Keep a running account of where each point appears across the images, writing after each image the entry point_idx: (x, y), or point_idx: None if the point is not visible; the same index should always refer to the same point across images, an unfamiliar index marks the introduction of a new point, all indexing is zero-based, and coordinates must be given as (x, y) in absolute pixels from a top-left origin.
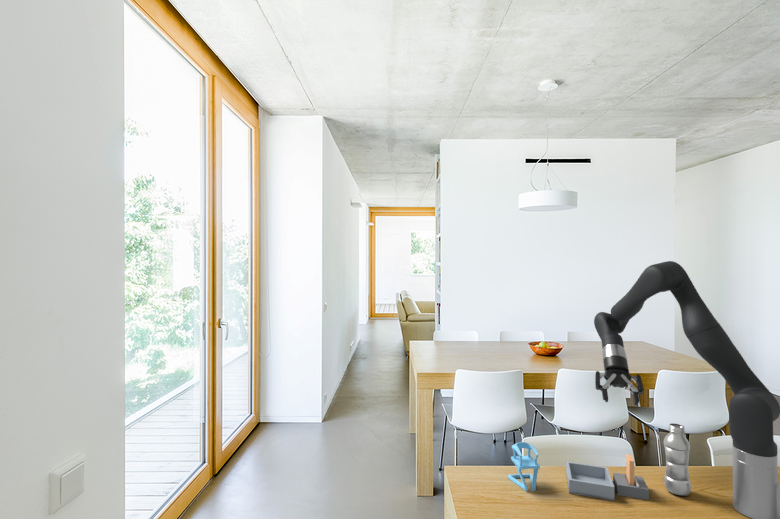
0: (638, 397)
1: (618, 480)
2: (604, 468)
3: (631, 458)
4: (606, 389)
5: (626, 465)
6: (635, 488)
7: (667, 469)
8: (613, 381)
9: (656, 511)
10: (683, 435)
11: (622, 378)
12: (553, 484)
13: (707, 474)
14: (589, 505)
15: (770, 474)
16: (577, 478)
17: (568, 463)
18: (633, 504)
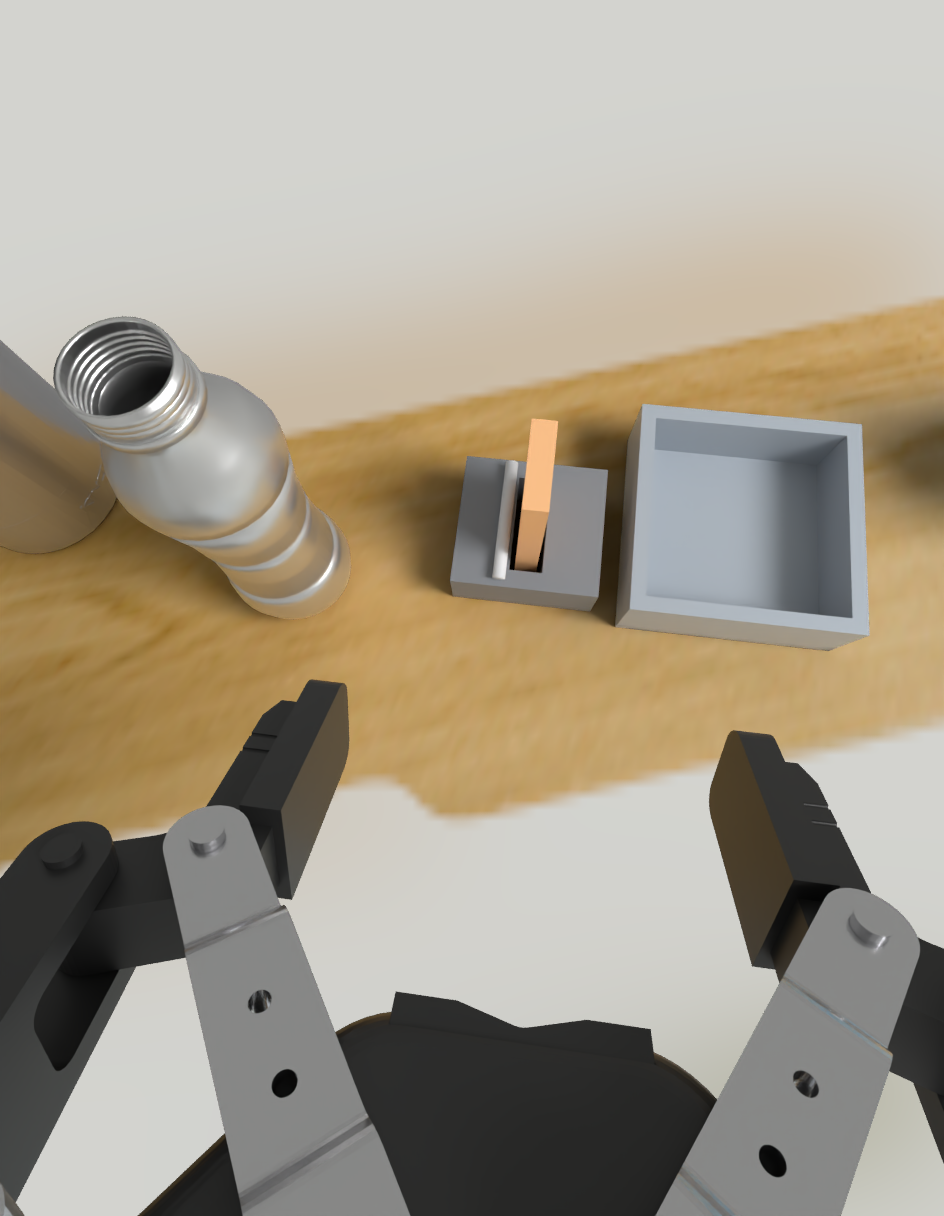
0: (244, 754)
1: (592, 513)
2: (647, 597)
3: (535, 454)
4: (806, 878)
5: (542, 538)
6: (526, 463)
7: (321, 523)
8: (672, 1112)
9: (470, 403)
10: (121, 386)
11: (392, 1186)
12: (897, 521)
13: (20, 823)
14: (743, 385)
15: None
16: (777, 584)
17: (855, 607)
18: None
